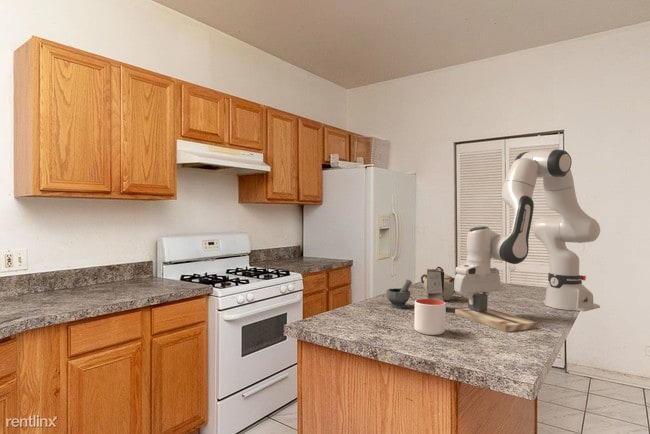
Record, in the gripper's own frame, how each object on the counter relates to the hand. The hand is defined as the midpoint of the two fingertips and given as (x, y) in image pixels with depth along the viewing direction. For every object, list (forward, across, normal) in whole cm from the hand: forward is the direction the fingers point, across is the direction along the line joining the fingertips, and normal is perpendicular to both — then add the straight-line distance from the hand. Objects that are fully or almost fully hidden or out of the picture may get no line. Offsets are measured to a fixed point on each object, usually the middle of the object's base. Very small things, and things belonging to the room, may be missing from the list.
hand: (477, 303), depth 155 cm
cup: (+5, +31, +12) cm, 33 cm away
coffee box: (+5, +9, -14) cm, 18 cm away
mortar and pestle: (+5, +21, -22) cm, 31 cm away
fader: (+2, 0, 0) cm, 2 cm away
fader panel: (+5, 0, +8) cm, 9 cm away
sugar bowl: (+5, -6, -31) cm, 32 cm away
